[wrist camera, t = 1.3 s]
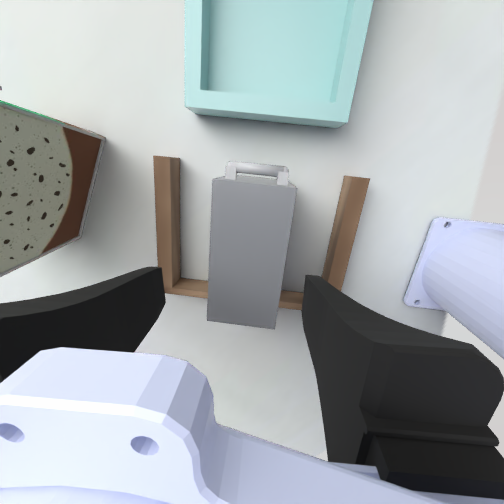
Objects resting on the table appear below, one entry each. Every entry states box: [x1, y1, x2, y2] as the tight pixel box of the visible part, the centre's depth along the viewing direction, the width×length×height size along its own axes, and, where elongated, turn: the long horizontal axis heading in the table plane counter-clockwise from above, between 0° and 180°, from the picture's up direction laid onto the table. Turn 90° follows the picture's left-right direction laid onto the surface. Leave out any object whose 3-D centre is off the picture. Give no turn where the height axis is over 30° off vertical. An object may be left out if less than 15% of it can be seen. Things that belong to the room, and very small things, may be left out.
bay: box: [153, 156, 370, 310], centre depth 20 cm, size 15×11×2 cm
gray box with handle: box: [207, 161, 297, 329], centre depth 17 cm, size 4×10×7 cm, turn 174°
